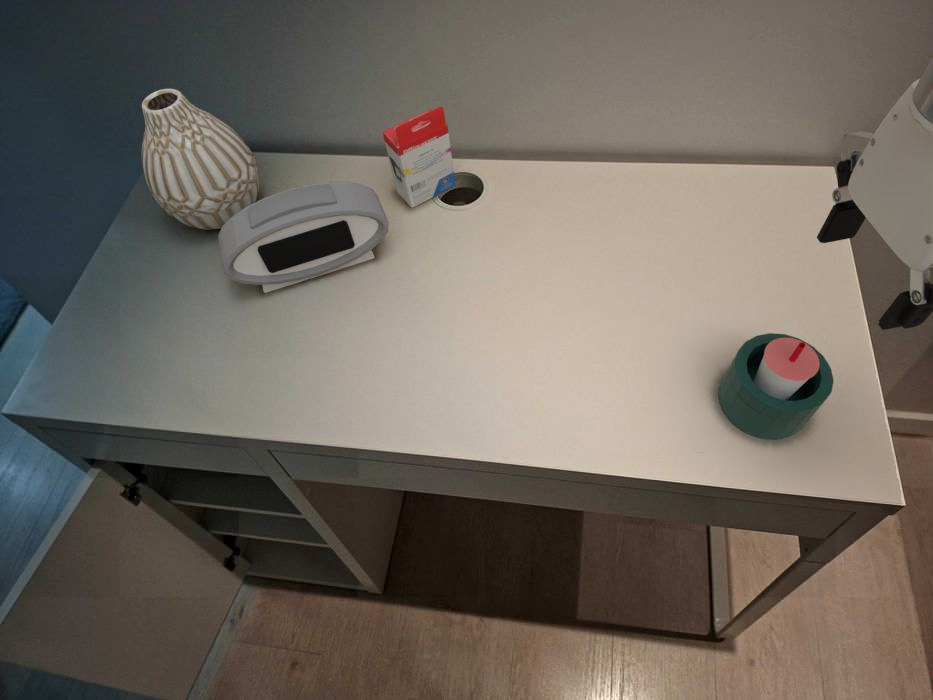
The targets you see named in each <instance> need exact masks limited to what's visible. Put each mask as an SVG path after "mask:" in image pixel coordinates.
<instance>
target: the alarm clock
mask: <svg viewBox="0 0 933 700" xmlns="http://www.w3.org/2000/svg"><path fill="white" fill-rule="evenodd" d="M388 232H389V220H388V218H387V215H386V213H385V210H384V208H383V204H382V203H381V200H380V198H379V195H378V194H377V193H376V191H375V190H374V189H373V188H371V187H369V186H367V185H366V184H363V183H359V182H353V181H326V182H318V183H311V184H310V183H309V184H306V185H301V186H297V187H294V188H289V189H285V190H282V191H279V192H277V193H274V194H271V195H269V196H266V197H264V198H262V199H259V200H256V201H255V203H253V204H251V205H249V206H247V207H246V208H244V209H243V210H241V211H240V212H238V213H237V214H235V215H234V216H232V217H231V218H230V219H229V220H228V221H227V222H226V223H225V224H224V225H223V226H222V228H220V231H219V233H218V235H217V238H218V245H219V250H220V257H221V264H222V270H223V274H224V275H225V276H226V277H228V279H230V280H231V281H233V282H237V283H240V284H244V285H254V286H255V285H256V286H262V291H263V292H264V294H267V293H270V292H273V291H276V290H280V289H282V288H285V287H286V288H287V287H288V286H292V285H295V284H299V283H301V282H304V281H308V280H310V279H314V278H318V277H320V276H323V275H326V274H327V275H328V274H330V273H333V272H336V271H340V270H343V269H346V268H348V267H353V266H356V265H358V264H361V263H364V262H368V261H371V260H374V259H375V258H376V257H375V255H374V252H373V249H374V248H375V247H376V246H378V244H380V242H382V241H383V240H384V238H385V236H386V235H387V234H388Z"/></svg>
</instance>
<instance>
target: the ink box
mask: <svg viewBox="0 0 933 700" xmlns="http://www.w3.org/2000/svg"><path fill="white" fill-rule="evenodd" d="M382 136H383V141H384V144H385V148H386V152H387V157H388V160H389V164H390V169H391V173H392V177H393V181H394V185H395V189H396V193H397V194H398V195H399V196H400V198H401V199H402V200H403V201H405V202H406V204H407V205H408V206H409V207H410V208H412V209H413V208H415V207H418V206H419V205H421V204H423V203H425V202H428V200H431V199H432V198H434V197H436V196H438V195H440V194H442V193H445V192H446V191H448V190H450V189H452V188H454V187H455V186H456V179H455V171H454V163H453V156H452V155H453V154H452V149H451V141H450V134H449V125H448V123H447V120H446V115H445V107H444V105H439V106H437V107H435V108H433V109H432V108H430V109H427V110H426V111H423V112H421V113H419V114H417V115H415V116H413V117H410V118H409V119H406V120H404V121H402V122H400V123H398V124H395V125H394V126H392V127H390V128H387V129H385V130H383V131H382Z"/></svg>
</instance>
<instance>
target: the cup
mask: <svg viewBox="0 0 933 700" xmlns="http://www.w3.org/2000/svg"><path fill="white" fill-rule="evenodd" d="M804 342H805V341H804ZM804 342H802V341H800V340H797V339H793V338H778V339H775V340H773V341H771V342H770V343H769V344H768V345H767V346H766V348H765V351H764V356H763V359H762V361H761V364H760V366H759V369H758V371H757V374H756V376H755V379H754V382H753V383H754V384H755V385H756V386H757V387H758V388H759V389H760V390H761V391H763V392H765V393H766V394H768V395H769V396H771V397H774V398H777V399H780V400H787V399H788V398H789V397H790V396H791V395H793V394H794V393H795V392H796V391H797V390H798V389H799V388H800V387H801V386H802V385H803V384H804V383H805V382H806V381H807V380H808V379H810V378H811V377H813V376H814V375H815V374H816V373H817V372H818V370H819V365H820V363H819V358H818V356H817V354H816V352H815V351H814V350H813V349H812V348H811V347H810V346H809V345H807V344H806V343H807V342H806V343H804Z"/></svg>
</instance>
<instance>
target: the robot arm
mask: <svg viewBox="0 0 933 700" xmlns="http://www.w3.org/2000/svg"><path fill="white" fill-rule="evenodd" d="M895 102H896V103H894V104H893V106H892V107H891V108H890V110H889V111H888V113H887V114H886V115H885V117H884V118H883V120H882V121H881V122H880V124H879V125H878V127H877V128H876V129H875V132H869V131H864V130H858V131H853V132H849V133H845V134H844V135H843V137H842V144H841V151H840V158H841V161H838V163H837V165H836V176H837V188H835V189H833V191H832V195H831V197H832V200H833V202H834V203H835V204H833V205H832V207H831V209H830V211H829V213H828V214H827V217H826V219H825V220H824V223H823V225H822V226H821V228H820V230H819V232H818V234H817V236H816V239H817V241H818V242H819V243H820V244H828V243H833V242H837V241H843V240H849V239H852V238H853V239H854V237H855V236H857V234H858V232H859V231H860V229H861V227H862V225H863V224H864V222H865V220H867V221H868V222H869V224H870V225H871V226H872V227H873V228H874V230H875V231H876V232H877V234H879V236H880V238H882V240H883V241H884V242H885V243H886V245H888V247H889V248H890V249H891V250H892V251H893V254H895V255H896V256H897V258H899V260H900V261H902V263H904V264H905V266H908V267H909V290H906V291H902V292H900V293H899V294H898V295H897V297H896V298H895V299H894V301H892V303H891V304H890V305H889V307H888V308H887V309H886V310H885V312H884V313H883V315H882V316H881V317H880V319H879V320H878V322H877V323H878V324H877V325H878V326H879V328H880V329H881V330H882V331H886V330H892V329H896V328H903V329H912V328H915V327H918V326H920V325H922V324H924V323H925V321H926V320H927V319H928V318H929V317H930V316H931V314H932V313H933V283H931V270H933V56H932V57H931V59H930V60H929V62H928V64H927V66H926V68H925V69H924V70H923V73H922V75H920V78H918V79H916V80H915V81H914V82H912V83H911V85H909V87H908V88H907V89H906V90H905V91H904V93H902V94H901V96H900V97H899V98H898V100H897V101H895Z"/></svg>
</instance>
